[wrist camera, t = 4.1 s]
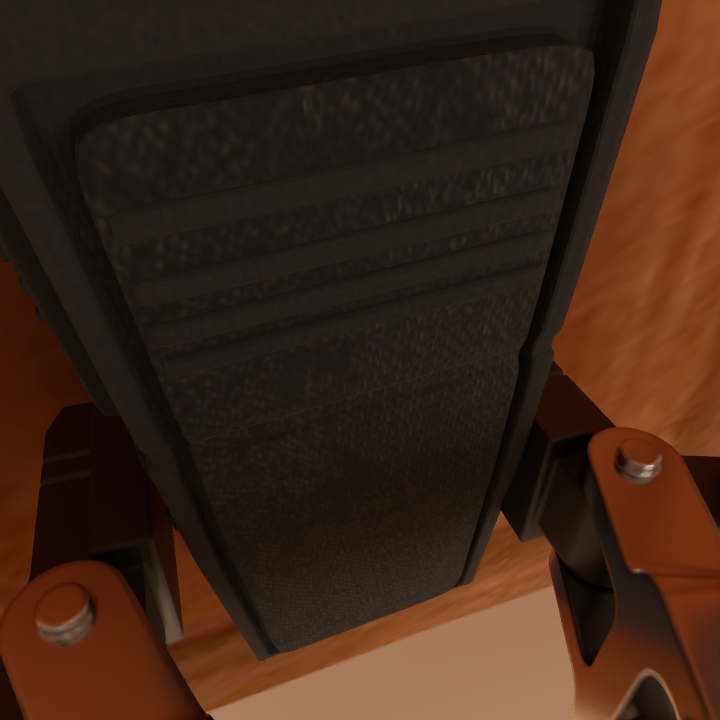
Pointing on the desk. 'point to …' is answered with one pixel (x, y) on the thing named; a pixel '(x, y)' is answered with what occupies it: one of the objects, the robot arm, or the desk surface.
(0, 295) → the desk surface
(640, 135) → the desk surface
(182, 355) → the walkie-talkie
